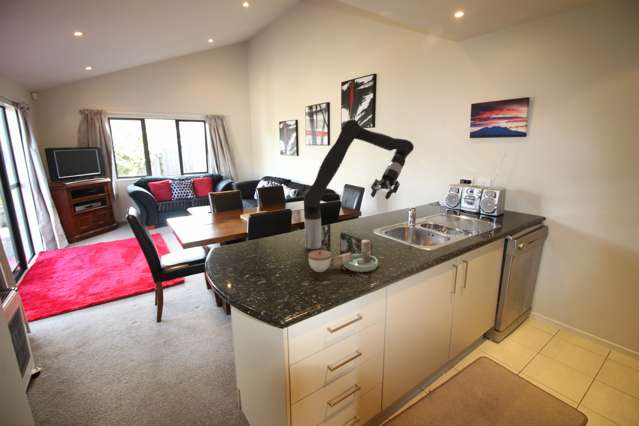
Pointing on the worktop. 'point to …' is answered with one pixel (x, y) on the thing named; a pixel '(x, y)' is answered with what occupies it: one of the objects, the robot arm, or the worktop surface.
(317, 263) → the lidded jar
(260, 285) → the worktop surface
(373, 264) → the ring dish
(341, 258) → the beige banded cylinder
